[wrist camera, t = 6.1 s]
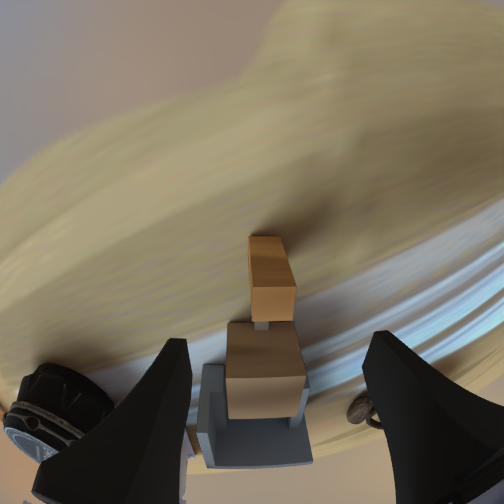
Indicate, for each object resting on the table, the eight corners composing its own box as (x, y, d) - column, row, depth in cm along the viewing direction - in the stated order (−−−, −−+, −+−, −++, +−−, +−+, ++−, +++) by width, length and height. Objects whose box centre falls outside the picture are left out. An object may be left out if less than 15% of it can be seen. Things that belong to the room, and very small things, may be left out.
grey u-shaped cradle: (301, 408, 27) (311, 463, 21) (210, 410, 27) (207, 468, 21) (312, 361, 24) (329, 427, 18) (203, 364, 24) (196, 432, 17)
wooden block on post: (287, 365, 24) (297, 421, 18) (229, 366, 24) (228, 424, 18) (302, 236, 19) (327, 285, 13) (224, 236, 18) (219, 287, 13)
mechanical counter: (407, 453, 27) (469, 422, 22) (342, 464, 23) (420, 434, 18) (397, 409, 33) (453, 374, 27) (333, 408, 29) (401, 367, 23)
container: (17, 344, 23) (-22, 406, 14) (113, 375, 24) (85, 458, 15) (48, 407, 28) (26, 461, 19) (130, 432, 30) (116, 496, 21)
